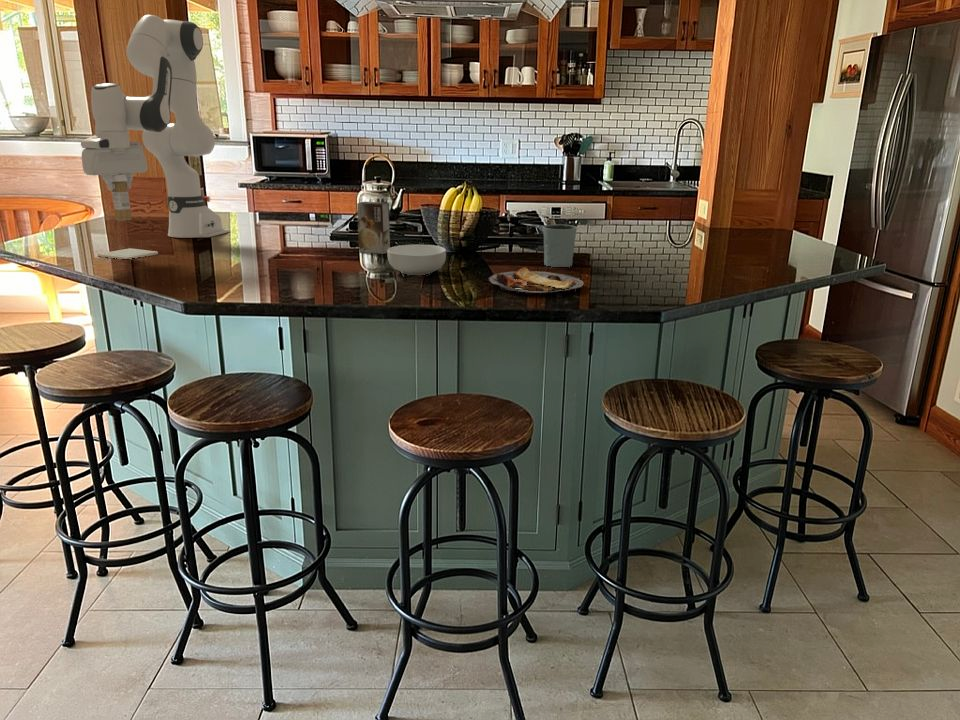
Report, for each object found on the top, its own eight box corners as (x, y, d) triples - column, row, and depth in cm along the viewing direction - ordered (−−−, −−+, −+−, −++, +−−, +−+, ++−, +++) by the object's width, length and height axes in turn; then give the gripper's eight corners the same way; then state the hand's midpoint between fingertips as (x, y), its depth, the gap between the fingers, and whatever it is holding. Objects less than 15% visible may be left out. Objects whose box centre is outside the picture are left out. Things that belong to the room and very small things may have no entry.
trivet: (130, 250, 231) (129, 248, 231) (158, 254, 226) (157, 251, 226) (97, 256, 220) (97, 253, 220) (126, 260, 216) (125, 257, 216)
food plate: (471, 284, 193) (472, 271, 192) (529, 274, 209) (529, 262, 208) (541, 304, 177) (542, 290, 176) (598, 291, 193) (599, 278, 191)
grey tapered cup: (576, 263, 226) (579, 225, 222) (571, 269, 216) (574, 229, 213) (544, 261, 228) (546, 223, 224) (538, 267, 219) (540, 227, 215)
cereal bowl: (381, 269, 211) (381, 245, 209) (435, 266, 217) (435, 243, 215) (396, 281, 196) (395, 255, 194) (453, 277, 202) (454, 252, 200)
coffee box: (391, 251, 240) (390, 202, 235) (384, 254, 234) (383, 204, 229) (365, 249, 242) (364, 201, 237) (358, 252, 236) (356, 203, 231)
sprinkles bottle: (129, 218, 223) (123, 174, 219) (133, 220, 220) (127, 174, 216) (113, 219, 220) (107, 174, 216) (117, 221, 217) (111, 175, 213)
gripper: (134, 140, 223) (139, 186, 227) (75, 141, 205) (82, 191, 210) (149, 141, 221) (154, 187, 225) (91, 142, 203) (98, 192, 207)
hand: (119, 189), depth 217 cm, fingers closed on sprinkles bottle, 4 cm apart
